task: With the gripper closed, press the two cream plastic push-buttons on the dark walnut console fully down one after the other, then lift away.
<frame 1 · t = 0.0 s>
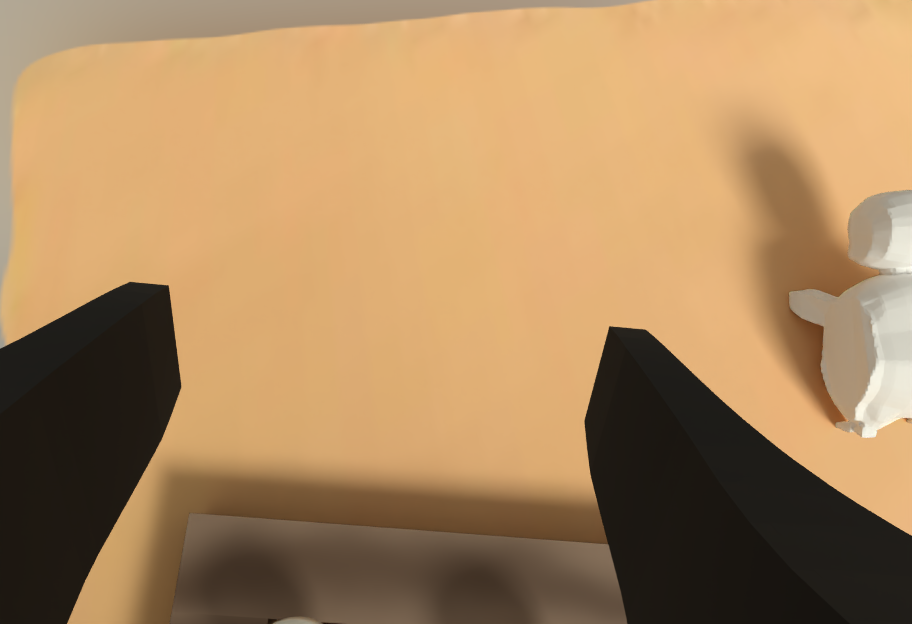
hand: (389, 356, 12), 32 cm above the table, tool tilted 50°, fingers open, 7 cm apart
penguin: (851, 332, 48), on the table
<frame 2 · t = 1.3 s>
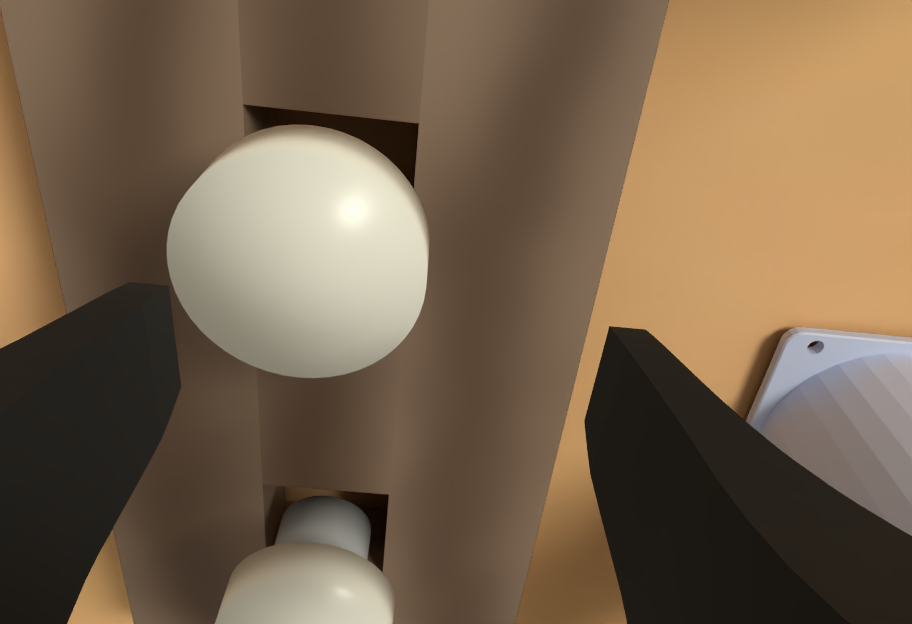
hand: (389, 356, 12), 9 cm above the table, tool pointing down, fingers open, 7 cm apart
button 2: (315, 581, 22), point 5 cm above the table, slide at 0.0 cm
console: (342, 332, 23), on the table
button 1: (316, 229, 15), point 5 cm above the table, slide at 0.0 cm
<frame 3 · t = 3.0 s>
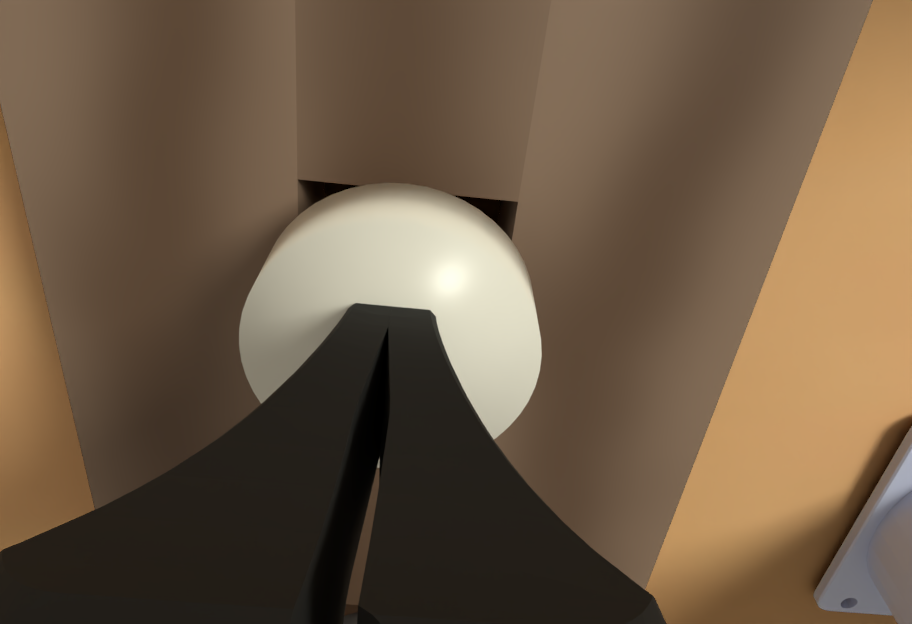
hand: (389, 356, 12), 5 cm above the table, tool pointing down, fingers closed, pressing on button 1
console: (395, 420, 19), on the table
button 1: (400, 294, 13), point 3 cm above the table, slide at 1.6 cm, touching gripper
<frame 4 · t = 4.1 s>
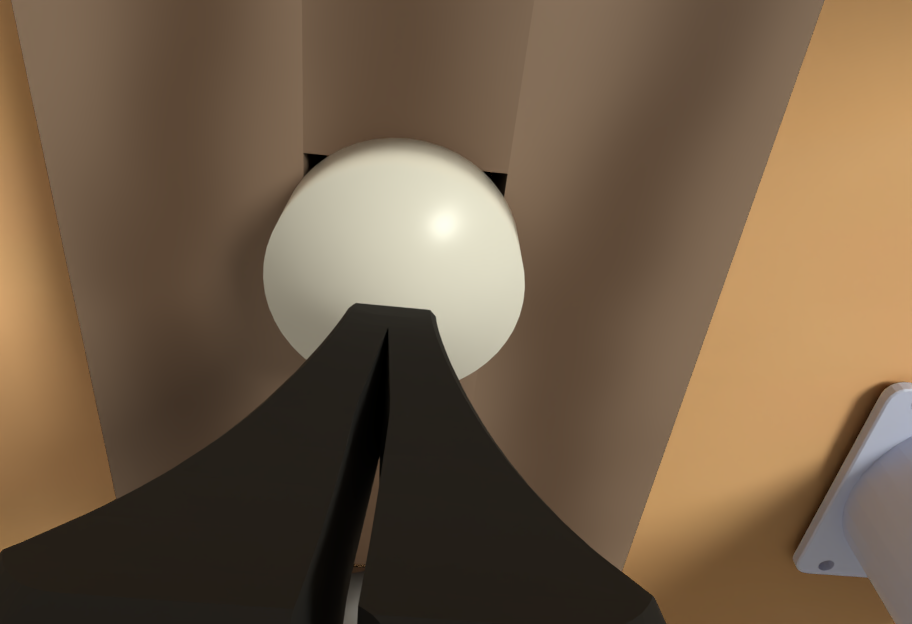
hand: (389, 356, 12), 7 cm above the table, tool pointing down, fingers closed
console: (393, 389, 20), on the table
button 1: (401, 241, 15), point 2 cm above the table, slide at 2.5 cm
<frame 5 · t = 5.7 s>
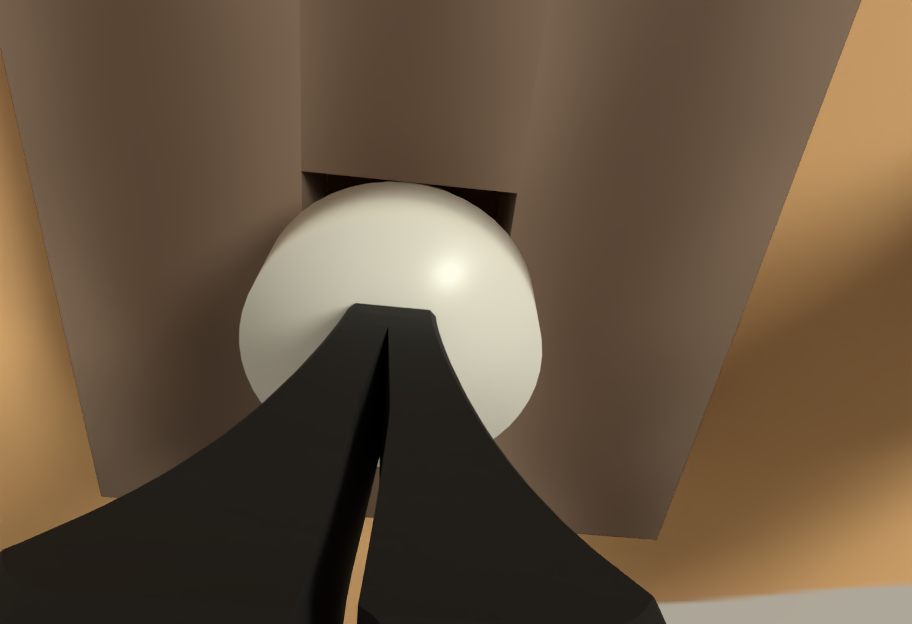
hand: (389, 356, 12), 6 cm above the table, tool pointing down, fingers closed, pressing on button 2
button 2: (400, 293, 13), point 4 cm above the table, slide at 1.2 cm, touching gripper
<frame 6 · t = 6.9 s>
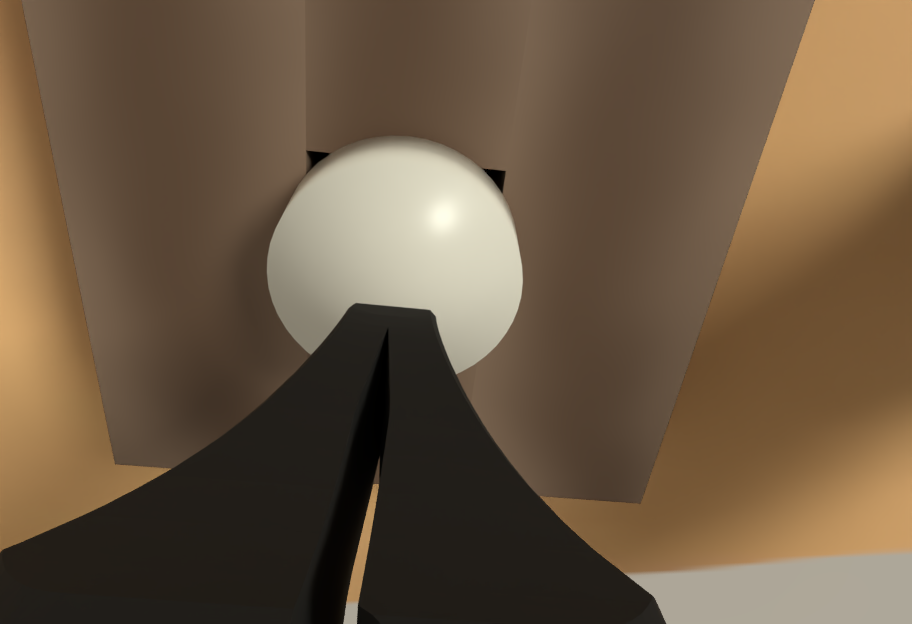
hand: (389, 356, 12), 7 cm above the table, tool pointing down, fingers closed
button 2: (402, 237, 16), point 2 cm above the table, slide at 2.5 cm, touching console
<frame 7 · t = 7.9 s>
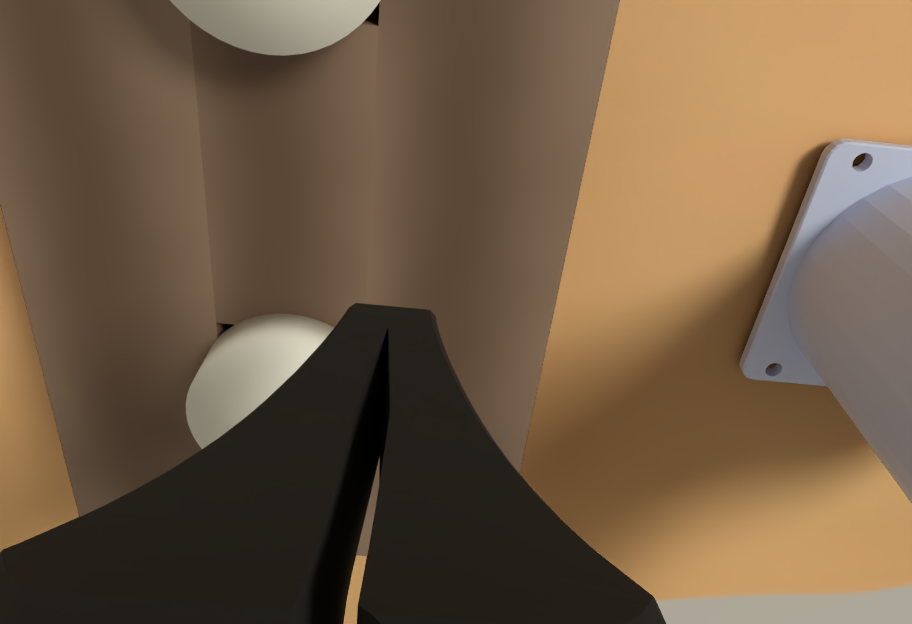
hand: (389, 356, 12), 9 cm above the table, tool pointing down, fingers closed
button 2: (296, 375, 21), point 2 cm above the table, slide at 2.5 cm, touching console
console: (310, 150, 19), on the table
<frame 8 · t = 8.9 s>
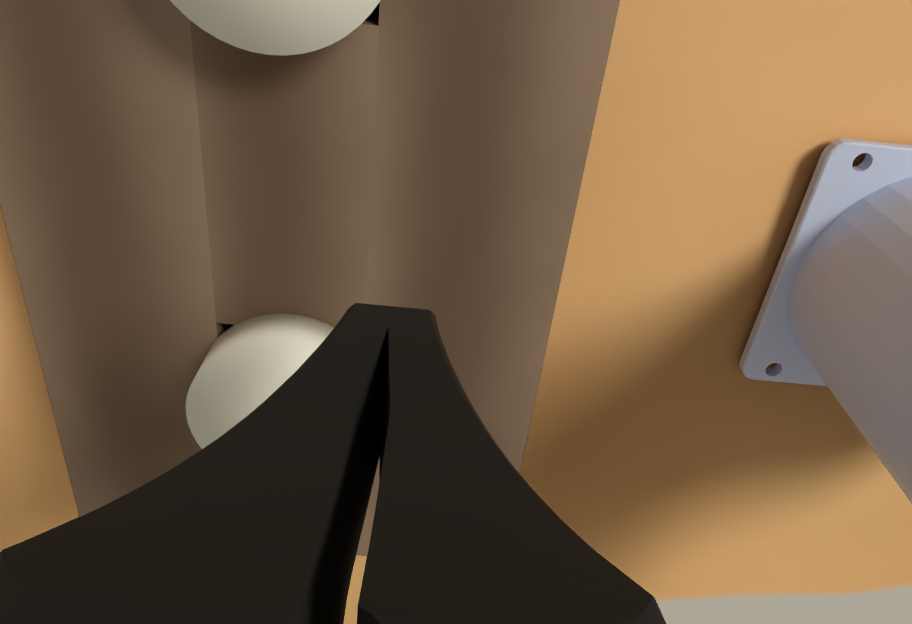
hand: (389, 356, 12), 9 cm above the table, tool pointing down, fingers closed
button 2: (296, 375, 21), point 2 cm above the table, slide at 2.5 cm, touching console
console: (310, 150, 19), on the table
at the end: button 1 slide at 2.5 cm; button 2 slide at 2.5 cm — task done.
